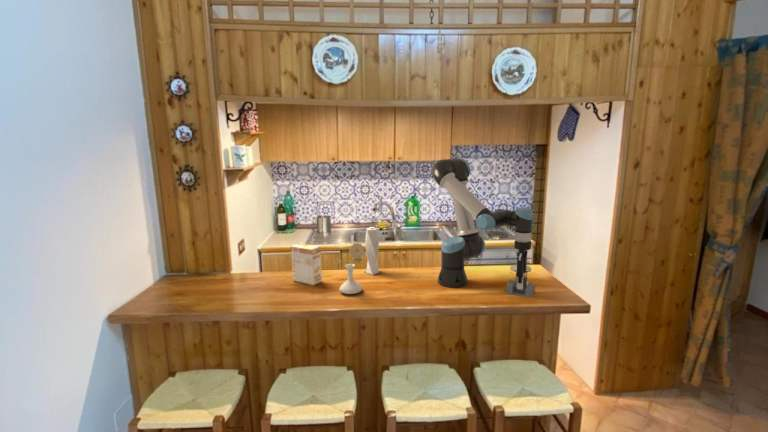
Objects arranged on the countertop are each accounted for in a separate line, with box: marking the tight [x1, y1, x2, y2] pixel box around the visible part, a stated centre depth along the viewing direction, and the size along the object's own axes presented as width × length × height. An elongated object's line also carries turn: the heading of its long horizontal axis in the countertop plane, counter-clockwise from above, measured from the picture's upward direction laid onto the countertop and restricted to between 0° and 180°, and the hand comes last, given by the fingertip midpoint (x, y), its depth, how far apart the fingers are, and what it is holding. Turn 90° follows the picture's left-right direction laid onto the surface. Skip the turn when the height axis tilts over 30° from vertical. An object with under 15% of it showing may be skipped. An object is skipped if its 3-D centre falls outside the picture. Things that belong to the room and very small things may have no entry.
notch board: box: [505, 280, 536, 299], centre depth 199 cm, size 12×8×4 cm, turn 61°
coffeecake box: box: [290, 242, 323, 286], centre depth 218 cm, size 15×7×20 cm, turn 58°
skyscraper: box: [363, 224, 382, 276], centre depth 229 cm, size 8×8×28 cm
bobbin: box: [509, 264, 532, 288], centre depth 208 cm, size 10×10×10 cm
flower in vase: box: [338, 242, 366, 295], centre depth 202 cm, size 13×11×25 cm
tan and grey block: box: [523, 273, 528, 290], centre depth 198 cm, size 4×4×7 cm
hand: (520, 287), depth 199 cm, fingers closed on tan and grey block, 4 cm apart
